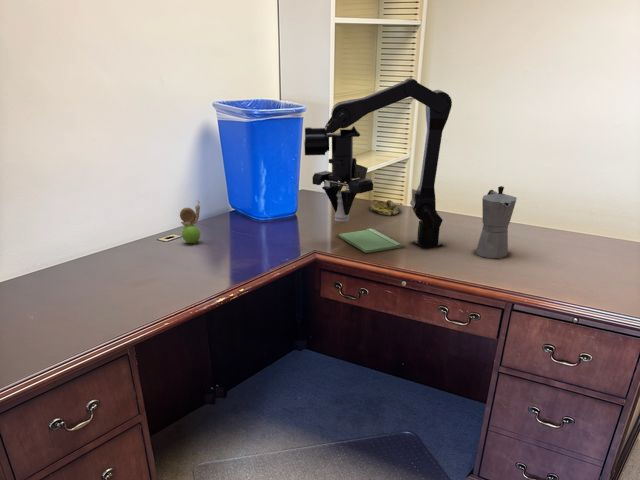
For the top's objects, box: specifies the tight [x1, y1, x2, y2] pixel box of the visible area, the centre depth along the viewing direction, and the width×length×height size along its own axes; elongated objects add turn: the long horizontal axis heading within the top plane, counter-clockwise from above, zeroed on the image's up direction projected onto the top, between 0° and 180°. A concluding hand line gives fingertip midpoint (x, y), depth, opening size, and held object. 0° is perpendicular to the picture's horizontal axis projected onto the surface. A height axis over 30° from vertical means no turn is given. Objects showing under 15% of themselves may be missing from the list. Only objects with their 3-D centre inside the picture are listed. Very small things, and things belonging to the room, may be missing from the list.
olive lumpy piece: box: [370, 199, 400, 216], centre depth 208 cm, size 9×5×15 cm
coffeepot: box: [475, 185, 518, 259], centre depth 164 cm, size 15×9×18 cm, turn 4°
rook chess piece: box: [334, 190, 350, 223], centre depth 170 cm, size 4×4×8 cm
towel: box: [338, 227, 403, 254], centre depth 179 cm, size 18×12×1 cm, turn 24°
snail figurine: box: [179, 200, 201, 244], centre depth 177 cm, size 5×6×12 cm
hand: (342, 213), depth 171 cm, fingers closed on rook chess piece, 3 cm apart
